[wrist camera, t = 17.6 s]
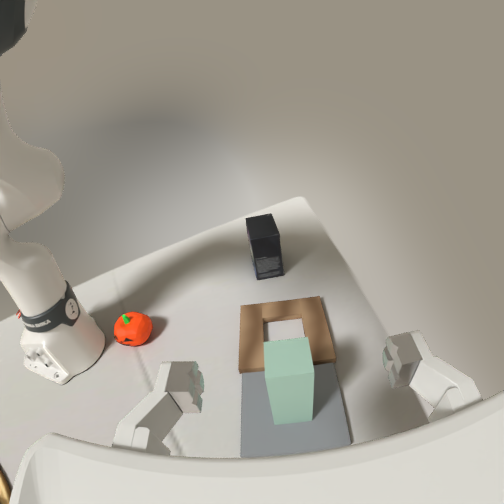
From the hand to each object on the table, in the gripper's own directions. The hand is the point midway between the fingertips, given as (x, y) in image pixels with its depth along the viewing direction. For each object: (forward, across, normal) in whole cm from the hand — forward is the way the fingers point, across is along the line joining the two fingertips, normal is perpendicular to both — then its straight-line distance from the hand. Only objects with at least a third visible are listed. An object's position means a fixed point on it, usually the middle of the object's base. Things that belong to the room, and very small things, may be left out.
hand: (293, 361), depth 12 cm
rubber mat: (+12, 0, +28) cm, 31 cm away
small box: (+49, +2, +28) cm, 57 cm away
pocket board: (+27, 0, +28) cm, 39 cm away
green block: (+12, 0, +27) cm, 30 cm away
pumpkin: (+29, +28, +28) cm, 49 cm away
